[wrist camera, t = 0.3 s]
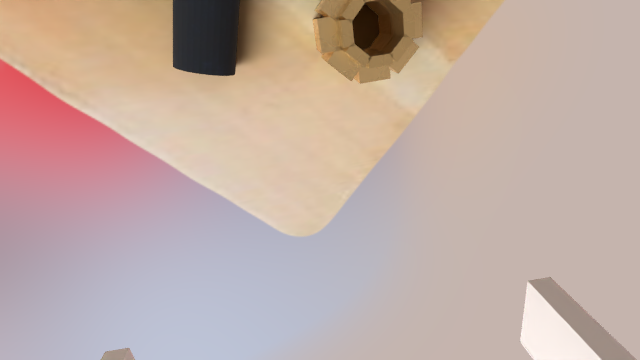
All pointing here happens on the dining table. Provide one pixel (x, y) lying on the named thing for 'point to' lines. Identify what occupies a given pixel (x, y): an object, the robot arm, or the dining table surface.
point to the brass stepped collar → (386, 50)
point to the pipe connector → (205, 36)
